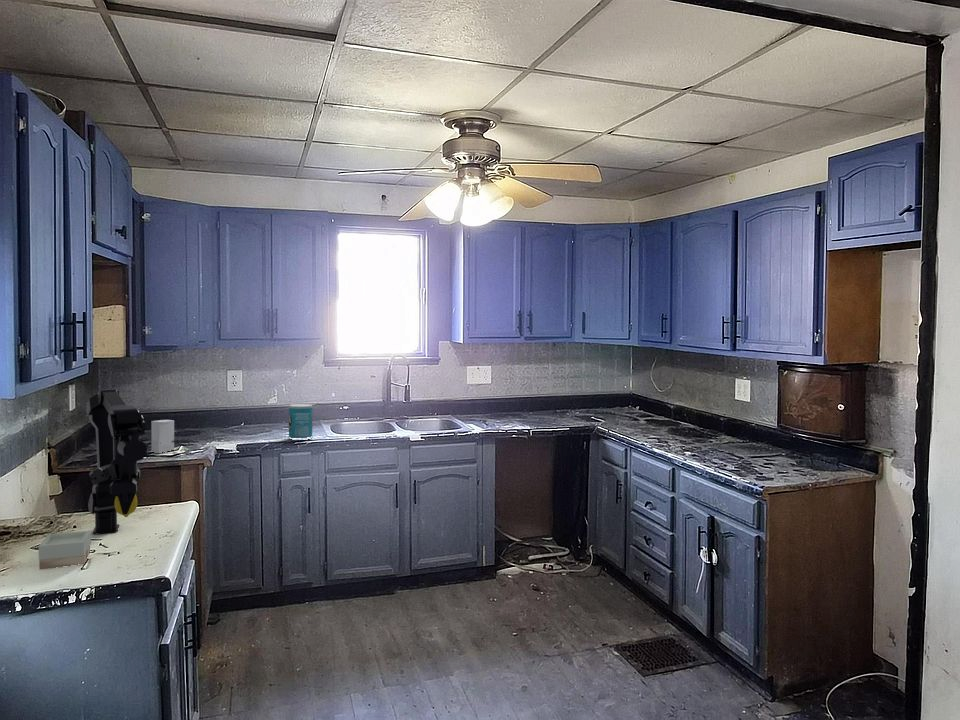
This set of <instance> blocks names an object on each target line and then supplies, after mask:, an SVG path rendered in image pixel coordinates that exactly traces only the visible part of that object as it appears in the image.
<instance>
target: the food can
mask: <svg viewBox="0 0 960 720" xmlns="http://www.w3.org/2000/svg"><path fill="white" fill-rule="evenodd" d="M311 436H312V437H313V404H312V403H292V404H289V405H288V438H289V437H291V438H307V437H311Z"/></svg>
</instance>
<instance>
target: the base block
mask: <svg viewBox="0 0 960 720" xmlns="http://www.w3.org/2000/svg"><path fill="white" fill-rule="evenodd" d="M89 552H90V553H91V545H90V546H89V547H88V549H87V551H86V553H85V554H84V555H83V556H73V557H62V558H51V559H41V560H39V559H38V560H39V562H38V563H39V565H38V566H39V567H38V568H39V570H47V569H48V570H49V569H57V568H56V567H58V568H64V567H63V566H68V567H72V566H71V565H77V566H79V565H78V564H85V565H86V563H85V562H87V560H88V558H89V556H88V555H90V553H89ZM87 557H88V558H87ZM86 559H87V560H86Z"/></svg>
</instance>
